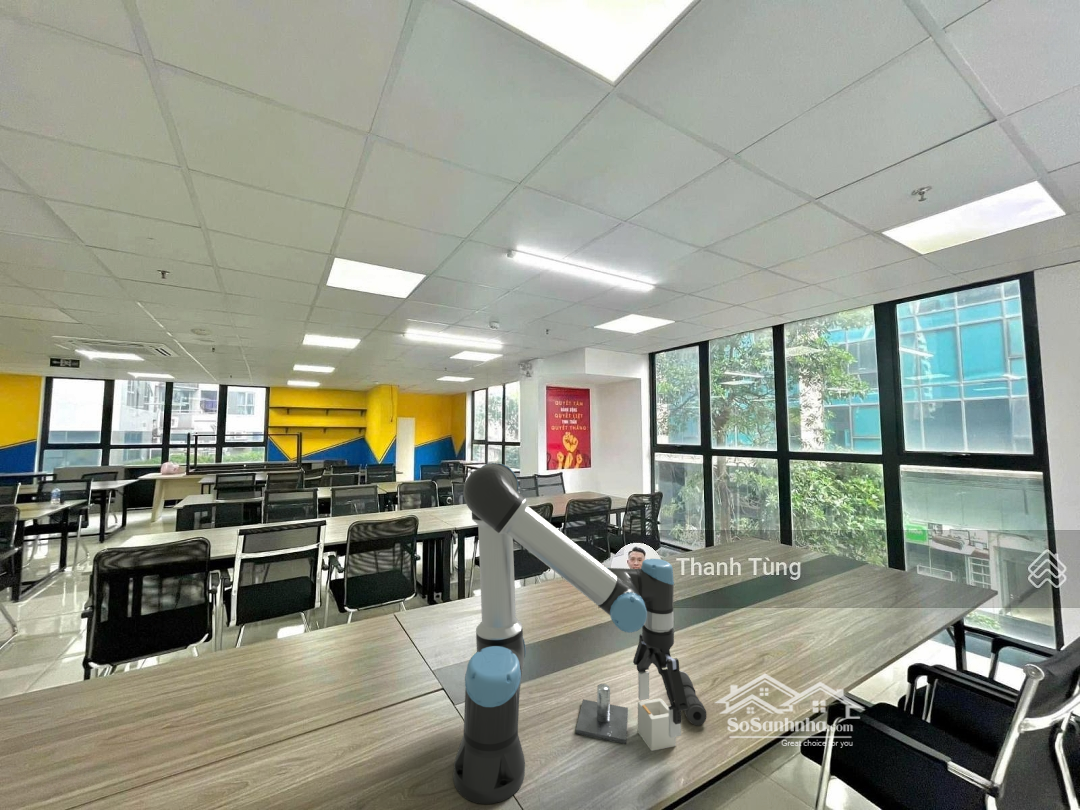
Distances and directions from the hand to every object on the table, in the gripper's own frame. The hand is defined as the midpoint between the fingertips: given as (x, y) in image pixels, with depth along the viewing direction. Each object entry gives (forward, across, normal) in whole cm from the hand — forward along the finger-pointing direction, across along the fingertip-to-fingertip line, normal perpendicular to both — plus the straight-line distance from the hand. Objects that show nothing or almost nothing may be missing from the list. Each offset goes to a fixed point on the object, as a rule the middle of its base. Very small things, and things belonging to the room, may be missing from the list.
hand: (658, 716), depth 101 cm
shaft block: (+5, +8, +11) cm, 15 cm away
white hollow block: (+5, 0, 0) cm, 5 cm away
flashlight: (+6, +9, -15) cm, 18 cm away
